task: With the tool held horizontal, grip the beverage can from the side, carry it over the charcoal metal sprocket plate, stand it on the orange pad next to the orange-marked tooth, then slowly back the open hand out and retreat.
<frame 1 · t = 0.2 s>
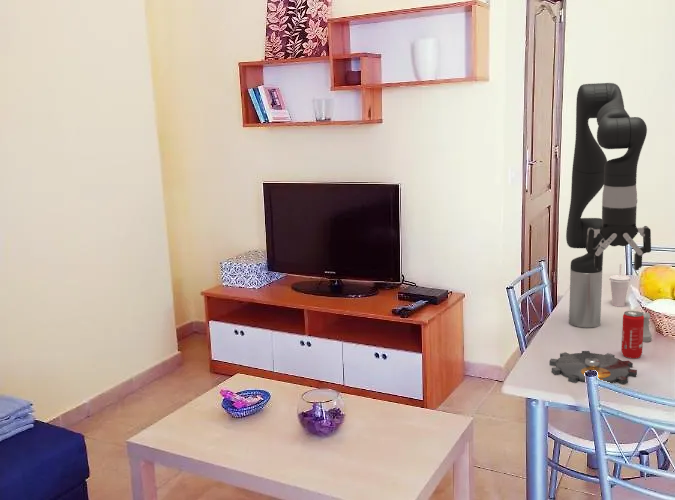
hand: (617, 269, 164), 28 cm above the table, tool pointing down, fingers open, 8 cm apart
sprocket: (592, 369, 177), on the table
smoothie: (618, 305, 229), on the table
beverage can: (631, 356, 185), on the table
rook chess piece: (643, 340, 197), on the table
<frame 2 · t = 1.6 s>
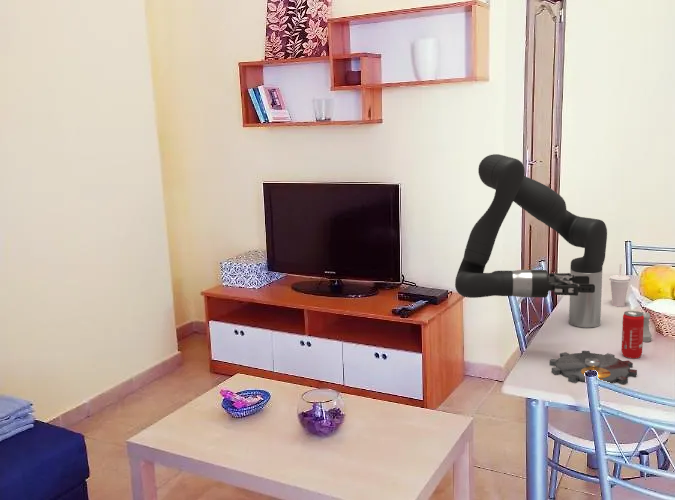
hand: (591, 284, 183), 20 cm above the table, tool horizontal, fingers open, 8 cm apart
nothing on the table moved.
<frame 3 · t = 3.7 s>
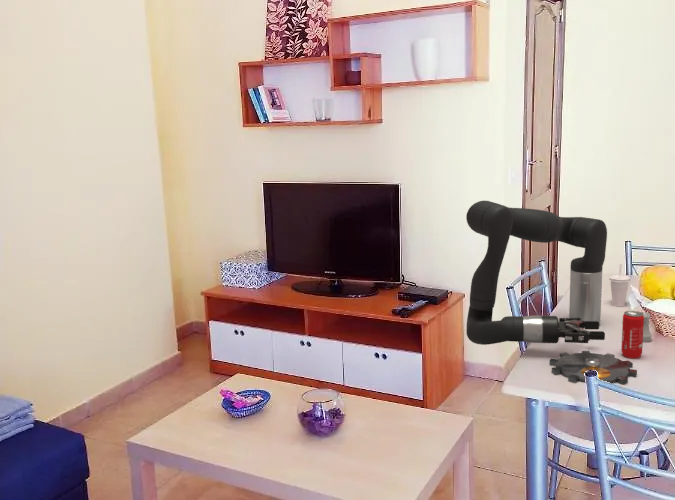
hand: (601, 330, 185), 7 cm above the table, tool horizontal, fingers open, 8 cm apart
nothing on the table moved.
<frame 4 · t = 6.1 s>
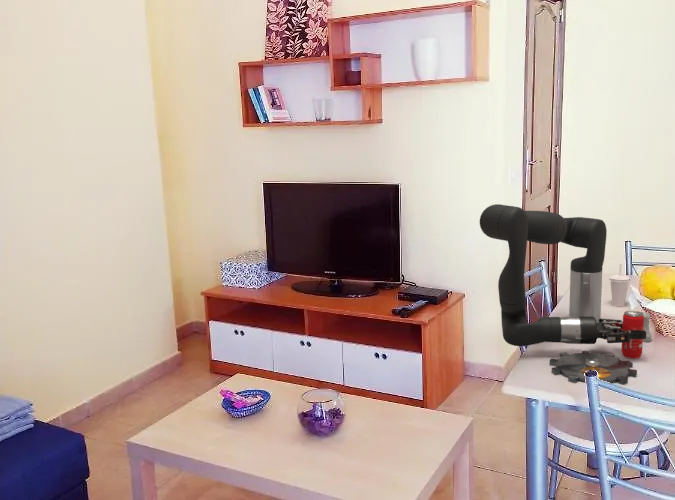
hand: (642, 331, 183), 7 cm above the table, tool horizontal, fingers closed on beverage can, 5 cm apart
beverage can: (631, 356, 185), on the table, touching gripper
everything else where it was.
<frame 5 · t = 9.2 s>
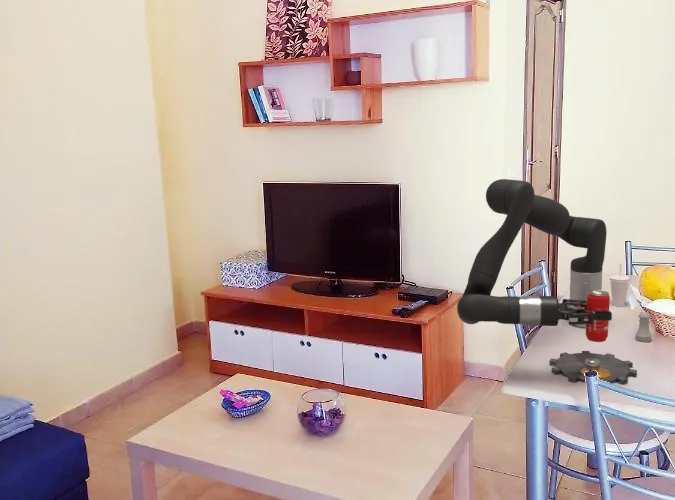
hand: (608, 312, 168), 17 cm above the table, tool horizontal, fingers closed on beverage can, 5 cm apart
beverage can: (596, 339, 170), point 10 cm above the table, touching gripper
everything else where it was.
when the fingers open (9 cm above the table, at t = 12.2 s): beverage can stays where it is, resting on sprocket.
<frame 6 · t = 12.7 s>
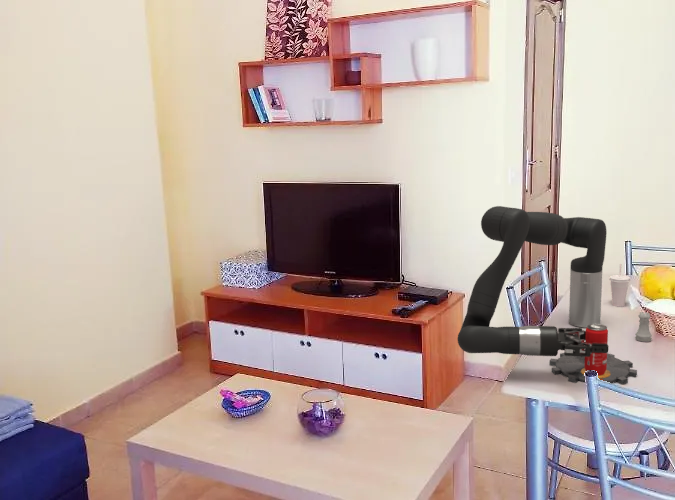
hand: (604, 342, 170), 9 cm above the table, tool horizontal, fingers open, 8 cm apart
beverage can: (595, 372, 172), point 1 cm above the table, touching sprocket
everything else where it was.
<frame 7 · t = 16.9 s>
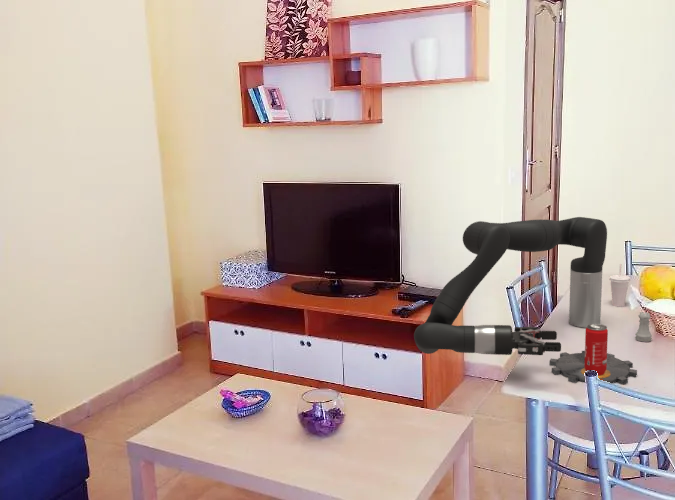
hand: (558, 341, 172), 10 cm above the table, tool horizontal, fingers open, 8 cm apart
nothing on the table moved.
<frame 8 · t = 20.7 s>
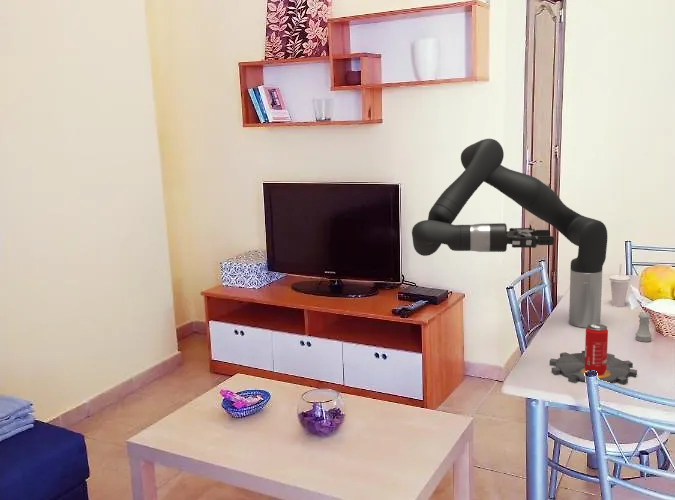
hand: (551, 237, 177), 34 cm above the table, tool horizontal, fingers open, 8 cm apart
nothing on the table moved.
at the end: beverage can 0.1 cm from the target spot on the sprocket, point 1.2 cm above the sprocket's base; beverage can tilted 0°; beverage can touching sprocket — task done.
